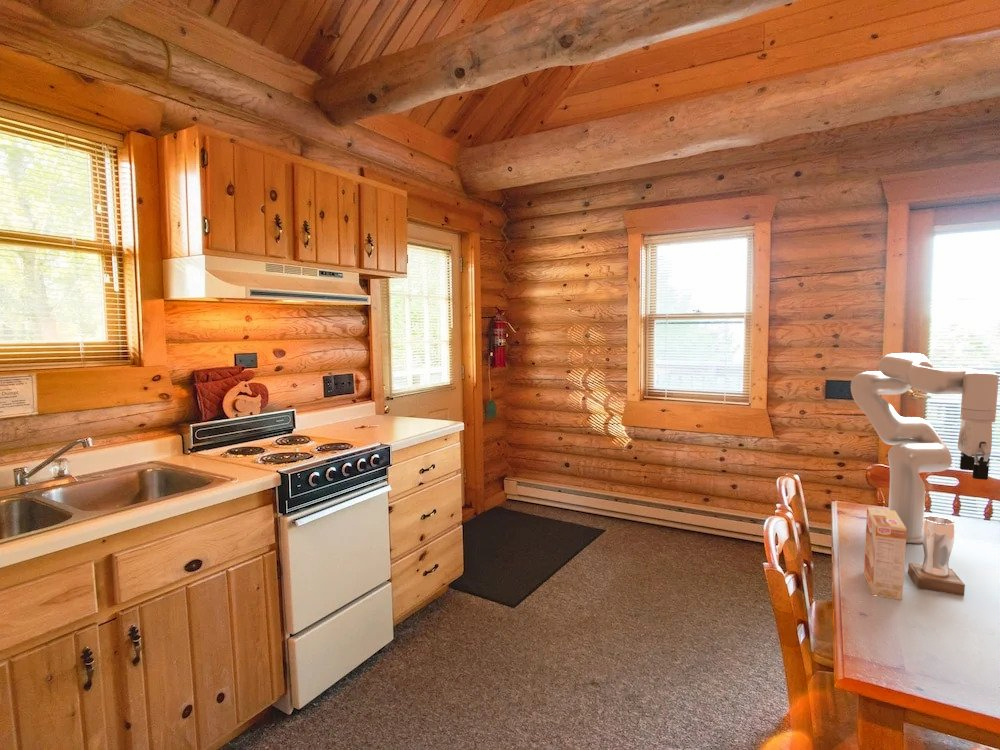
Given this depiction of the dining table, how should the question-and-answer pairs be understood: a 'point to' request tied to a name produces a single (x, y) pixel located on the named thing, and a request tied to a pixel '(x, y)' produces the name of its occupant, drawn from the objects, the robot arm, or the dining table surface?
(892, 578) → the coffeecake box
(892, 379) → the robot arm
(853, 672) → the dining table surface
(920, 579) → the oak board
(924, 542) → the beer glass
